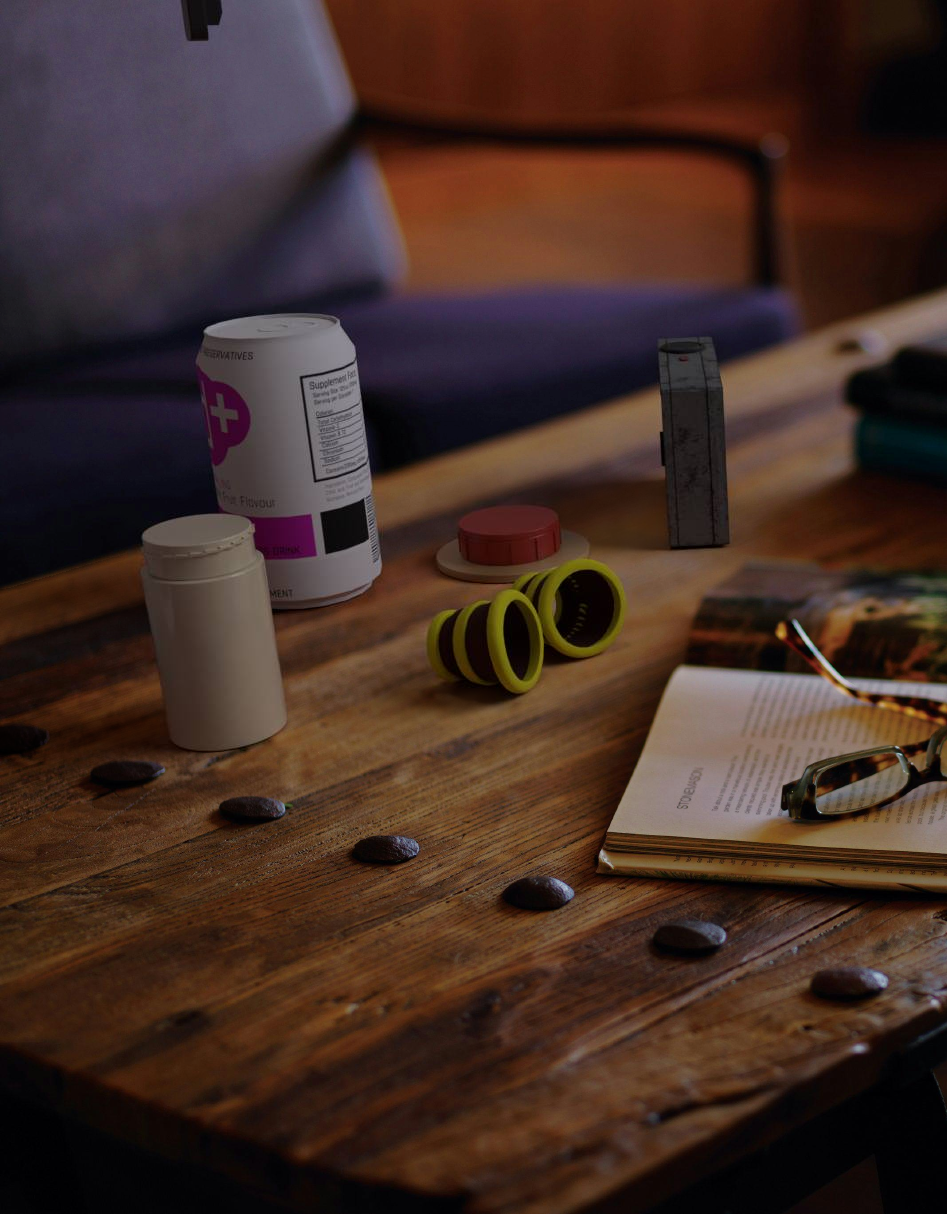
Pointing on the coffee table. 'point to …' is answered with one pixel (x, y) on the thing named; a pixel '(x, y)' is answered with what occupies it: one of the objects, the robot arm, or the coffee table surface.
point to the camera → (693, 442)
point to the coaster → (469, 571)
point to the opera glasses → (529, 626)
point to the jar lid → (509, 535)
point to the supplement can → (293, 452)
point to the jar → (212, 632)
